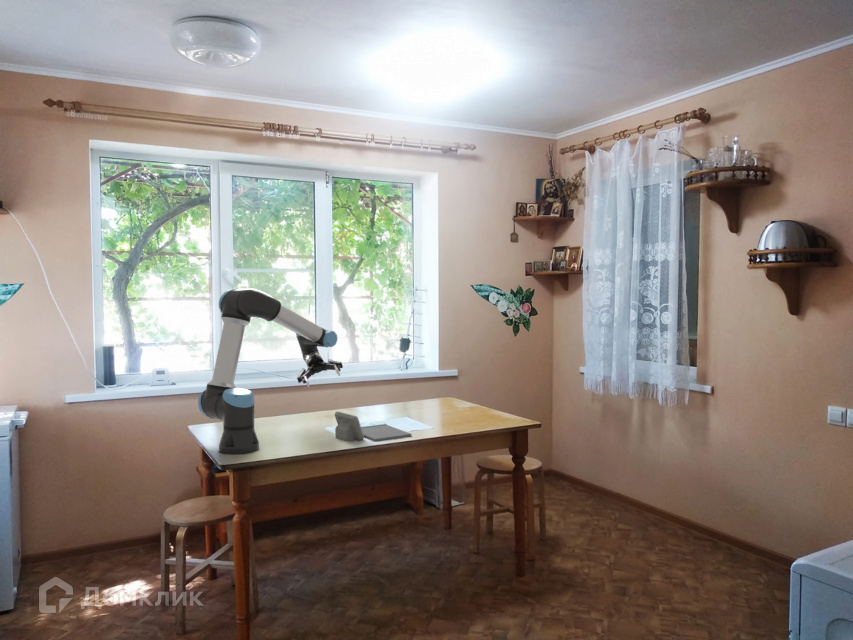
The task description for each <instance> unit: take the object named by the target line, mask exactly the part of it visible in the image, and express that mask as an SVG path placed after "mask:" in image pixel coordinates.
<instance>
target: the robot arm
mask: <svg viewBox="0 0 853 640" xmlns="http://www.w3.org/2000/svg"><path fill="white" fill-rule="evenodd" d="M218 309H219V310H220V313H221V317H220V319H221V320H222V322H223V326H222V331H221V336H220V340H219V343H218V350H217V354H216V359H215V363H214V370H213V374H212V378H211V380H210V381H209V382H207V384H206V388H205V389H204V390H203V391H202V392H201V393H200V394H199V396H198V400H197V405H198V409H199V411H200V413H201V414H202V415H204V416H205V417H207V418H209V419H215V420H220V421H222V423H223V424H222V425H223V429H222V430H223V431H222V434H221V437H220V440H219V444H218V451H221V452H224V453H223V454H226V453H230V454H229V455H236V454H237V455H238V454H239V453H241V454H246V453H252V452H255V451H257V450H259V449H260V441H259V438H258V435H257V432H256V430H255V403H256V401H255V397H254V396H255V395H254V392H252V391H251V390H250V389H247V388H240V387H237V386H236V385H235V378H236V373H237V369H238V365H239V358H240V354H241V349H242V343H243V339H244V334H245V329H246V326H248V325H250V323H251V319H252V318H258V319H259V318H260V319H263V320H265V321H267V322H274V323H276V324H278V325H279V326H281V327H284V328H286V329H287V330H290V331H291V332H294V333H295V336H296V337H295V338H296V340H297V342H298V345H299V347H300V351H301V355H302V358H303V360H304V362H305V364H306V366H307V368H301V371H300V373H299V374H298V375H297V377H296V380H297V382H298V384H301V383H303V384H306V386H307V388H309V387H310V383H309V379H310V377H311V376H314V375H315V374H319V373H321V372H323V371H326V372H327V371H329V370H331V371H335V373H336V374H337V375H338V377H339V376H341V373H340V372H341V369H343V368H344V366H343V363H342V361H338V360H333V359H331V358H328V361H325V360H324V359H323V357H322V356H321V355H320V352H319V351H320V350H319V349H318V347H320V348H321V347H322V348H332V347H334V346H336V344H337V343H338V335H337V333H336V332H335V331H334V330H331V329H325V328H323V327H321V326H320V325H317V324H316V323H314V322H313V321H310V320H309V319H307V318H305V317H303V316H302V315H301V314H298V313H296V312H295V311H293V310H291V309H290V308H288V307H286V306H285V305H282V302H281V301H280V300H279V299H277V298H275V297H273V296H271V295H270V294H267V293H266V292H264V291H261V290H259V289H256V288H232V289H228V290H226V291H225V292H223V293H222V295H221V296H220V297H219V300H218ZM221 452H220V453H221Z"/></svg>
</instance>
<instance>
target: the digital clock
mask: <svg viewBox="0 0 853 640" xmlns="http://www.w3.org/2000/svg"><path fill="white" fill-rule="evenodd" d="M334 418H335V421H336V424H337V425H336V426H335V430H334V431H335V433H334V434H335V438H336V439H340V440H344V441H345V442H349V441H355V439H356V440H358V441H362V440H364V439H365V437H364V435H363V432H362V429H361V427H362V426H361V423H360V420H359V417H358V416H357V415H355V414H350V413H347V412H342V411H335V413H334Z"/></svg>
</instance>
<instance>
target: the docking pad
mask: <svg viewBox="0 0 853 640" xmlns="http://www.w3.org/2000/svg"><path fill="white" fill-rule="evenodd" d="M361 429H362V432H363V435H364V439H365V438H366V439H368V440H370V441H372V442H381V441H388V440H394V439H402V438H408V437H412V433H409V432H408V431H405V430H402V429H399V428H396V427H393V426H391V425H388V424H386V423H381V424H379V423H378V424H372V425H371V424H370V425H364V426H361Z"/></svg>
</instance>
